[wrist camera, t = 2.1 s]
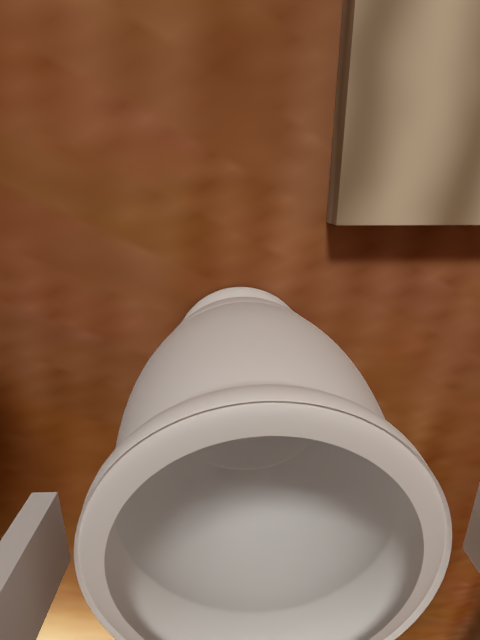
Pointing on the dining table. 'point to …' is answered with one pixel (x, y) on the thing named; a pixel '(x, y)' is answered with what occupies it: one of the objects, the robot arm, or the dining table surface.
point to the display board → (407, 114)
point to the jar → (259, 492)
